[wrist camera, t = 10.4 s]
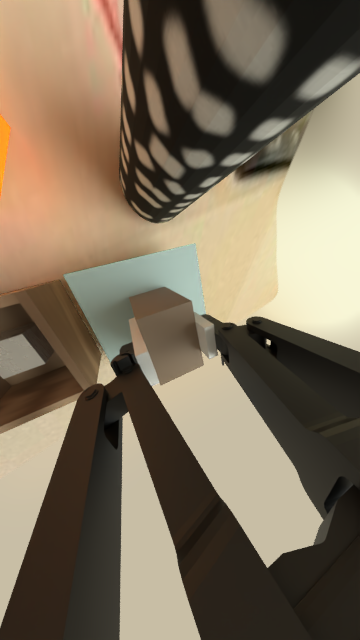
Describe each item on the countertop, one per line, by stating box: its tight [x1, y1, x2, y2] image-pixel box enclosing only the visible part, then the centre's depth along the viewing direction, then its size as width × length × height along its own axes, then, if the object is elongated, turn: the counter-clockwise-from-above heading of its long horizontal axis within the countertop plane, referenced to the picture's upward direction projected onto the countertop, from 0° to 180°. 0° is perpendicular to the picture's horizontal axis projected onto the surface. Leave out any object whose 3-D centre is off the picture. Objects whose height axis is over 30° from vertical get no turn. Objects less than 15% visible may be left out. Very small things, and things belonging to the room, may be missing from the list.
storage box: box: [0, 280, 101, 434], centre depth 16 cm, size 12×12×8 cm
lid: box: [63, 243, 206, 385], centre depth 15 cm, size 13×13×8 cm
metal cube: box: [0, 323, 55, 379], centre depth 17 cm, size 4×4×4 cm
